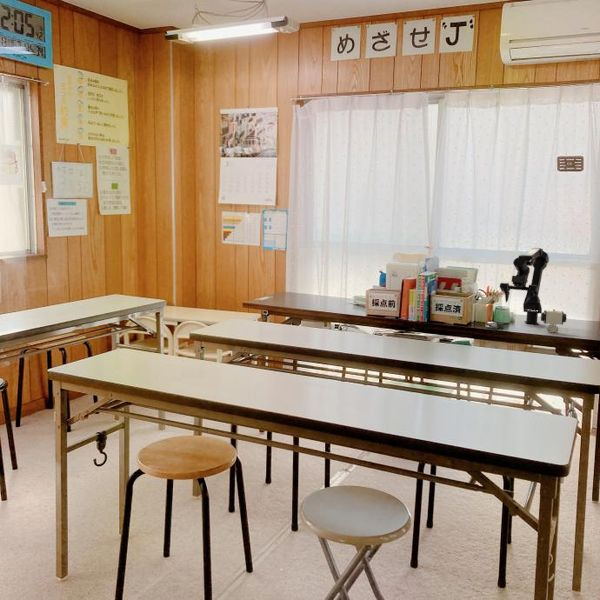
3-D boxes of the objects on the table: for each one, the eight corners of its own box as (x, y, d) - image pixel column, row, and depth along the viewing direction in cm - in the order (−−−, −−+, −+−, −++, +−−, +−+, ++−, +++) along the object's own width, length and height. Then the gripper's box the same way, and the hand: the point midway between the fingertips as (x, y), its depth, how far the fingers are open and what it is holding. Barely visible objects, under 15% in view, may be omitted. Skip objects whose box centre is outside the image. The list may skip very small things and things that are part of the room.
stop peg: (496, 327, 331) (497, 322, 331) (502, 327, 331) (503, 322, 331) (497, 328, 328) (498, 323, 328) (503, 328, 328) (504, 323, 328)
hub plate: (484, 326, 334) (484, 324, 333) (497, 326, 333) (497, 324, 333) (486, 328, 327) (486, 326, 327) (500, 329, 326) (500, 327, 326)
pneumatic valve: (565, 333, 317) (567, 310, 315) (540, 332, 320) (542, 309, 318) (563, 331, 322) (565, 308, 320) (539, 330, 325) (541, 307, 323)
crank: (498, 328, 326) (499, 307, 324) (489, 328, 326) (490, 307, 325) (491, 324, 339) (493, 303, 337) (483, 323, 339) (485, 303, 337)
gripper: (500, 267, 322) (493, 294, 317) (537, 270, 311) (530, 297, 306) (505, 277, 331) (498, 303, 326) (541, 280, 320) (535, 307, 315)
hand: (515, 303), depth 318 cm, fingers open, 9 cm apart
